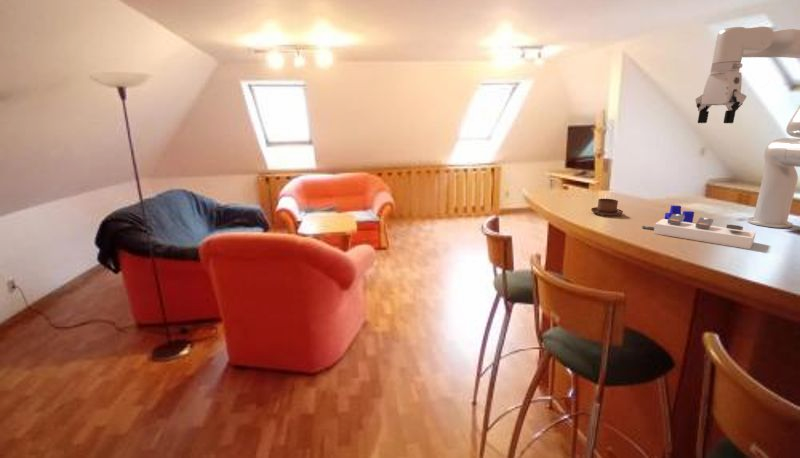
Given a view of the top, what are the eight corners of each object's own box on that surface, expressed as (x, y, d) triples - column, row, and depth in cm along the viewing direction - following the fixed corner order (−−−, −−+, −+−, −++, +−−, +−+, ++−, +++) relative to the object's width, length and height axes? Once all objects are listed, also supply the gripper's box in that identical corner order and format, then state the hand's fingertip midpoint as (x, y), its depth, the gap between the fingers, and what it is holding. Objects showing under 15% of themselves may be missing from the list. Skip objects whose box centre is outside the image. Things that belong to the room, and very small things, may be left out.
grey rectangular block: (728, 228, 133) (729, 224, 133) (742, 230, 131) (743, 226, 130) (726, 228, 129) (727, 224, 129) (740, 230, 126) (741, 226, 126)
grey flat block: (672, 216, 144) (672, 213, 143) (684, 218, 141) (684, 215, 141) (667, 223, 140) (667, 219, 140) (679, 225, 138) (680, 221, 137)
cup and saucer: (593, 210, 179) (595, 196, 177) (624, 213, 172) (626, 199, 171) (587, 215, 170) (589, 201, 168) (619, 219, 163) (622, 204, 161)
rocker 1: (699, 220, 138) (700, 217, 138) (712, 222, 136) (713, 218, 135) (695, 227, 135) (695, 223, 134) (708, 229, 132) (709, 225, 132)
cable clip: (664, 220, 161) (666, 205, 160) (676, 220, 160) (679, 205, 159) (677, 227, 150) (680, 211, 148) (691, 228, 149) (694, 212, 148)
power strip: (645, 225, 152) (647, 216, 151) (753, 242, 131) (755, 231, 130) (637, 230, 145) (639, 221, 144) (749, 249, 124) (752, 238, 123)
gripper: (761, 66, 126) (749, 123, 130) (711, 72, 142) (701, 123, 146) (741, 65, 124) (729, 123, 129) (692, 72, 141) (683, 123, 145)
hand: (714, 123), depth 138 cm, fingers open, 9 cm apart
